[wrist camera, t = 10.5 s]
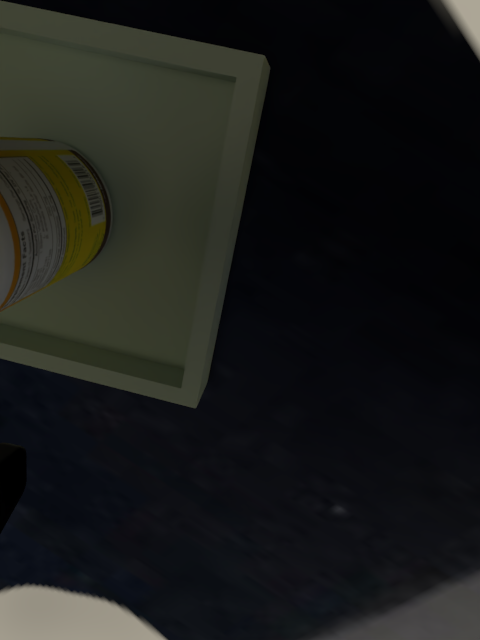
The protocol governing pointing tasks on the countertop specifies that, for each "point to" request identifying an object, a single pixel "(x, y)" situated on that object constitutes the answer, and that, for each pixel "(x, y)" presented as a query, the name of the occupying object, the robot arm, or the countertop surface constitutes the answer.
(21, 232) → the supplement bottle
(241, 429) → the countertop surface
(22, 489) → the robot arm
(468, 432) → the countertop surface
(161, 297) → the tray
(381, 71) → the countertop surface
